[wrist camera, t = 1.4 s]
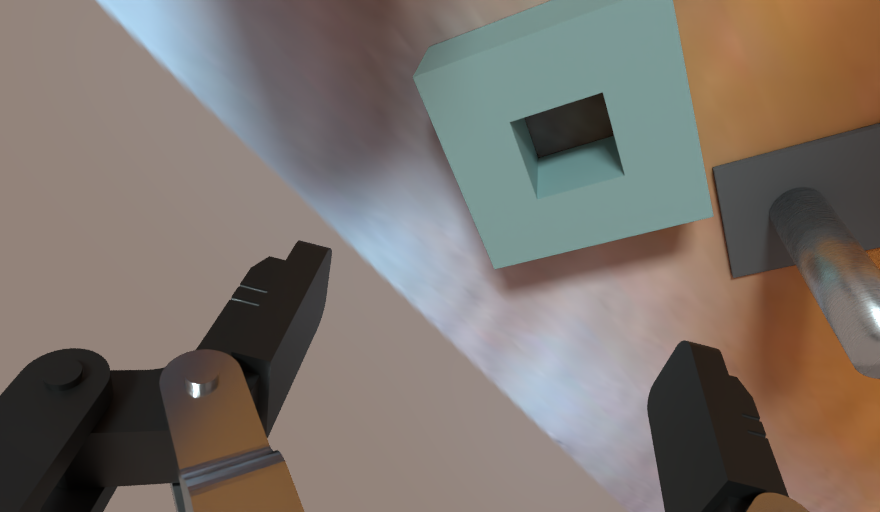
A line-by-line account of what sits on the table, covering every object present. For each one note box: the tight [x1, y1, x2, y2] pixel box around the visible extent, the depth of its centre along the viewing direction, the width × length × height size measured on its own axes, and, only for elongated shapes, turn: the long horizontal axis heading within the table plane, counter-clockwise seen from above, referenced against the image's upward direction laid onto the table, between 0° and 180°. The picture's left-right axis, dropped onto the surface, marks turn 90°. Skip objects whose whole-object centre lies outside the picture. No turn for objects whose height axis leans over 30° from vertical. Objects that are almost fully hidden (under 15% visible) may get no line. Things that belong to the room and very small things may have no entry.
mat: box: [713, 123, 880, 278], centre depth 36 cm, size 9×8×1 cm
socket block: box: [413, 0, 714, 269], centre depth 32 cm, size 12×12×5 cm
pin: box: [769, 187, 880, 379], centre depth 31 cm, size 3×3×12 cm
